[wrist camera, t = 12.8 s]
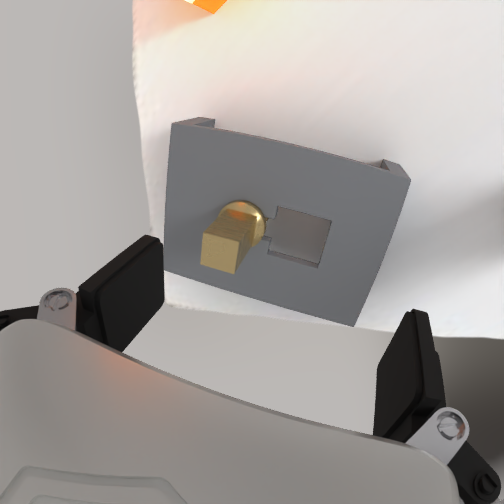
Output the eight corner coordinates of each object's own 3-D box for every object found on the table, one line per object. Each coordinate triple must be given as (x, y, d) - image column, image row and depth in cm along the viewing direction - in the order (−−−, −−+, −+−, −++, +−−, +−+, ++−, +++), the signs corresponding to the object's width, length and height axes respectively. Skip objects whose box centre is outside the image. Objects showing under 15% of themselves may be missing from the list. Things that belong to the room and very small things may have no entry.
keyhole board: (399, 164, 33) (411, 180, 27) (354, 293, 42) (353, 327, 36) (199, 117, 37) (171, 123, 31) (187, 245, 46) (163, 269, 40)
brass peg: (280, 190, 37) (251, 235, 26) (273, 229, 39) (242, 285, 29) (239, 180, 38) (194, 220, 27) (233, 219, 40) (190, 269, 30)
